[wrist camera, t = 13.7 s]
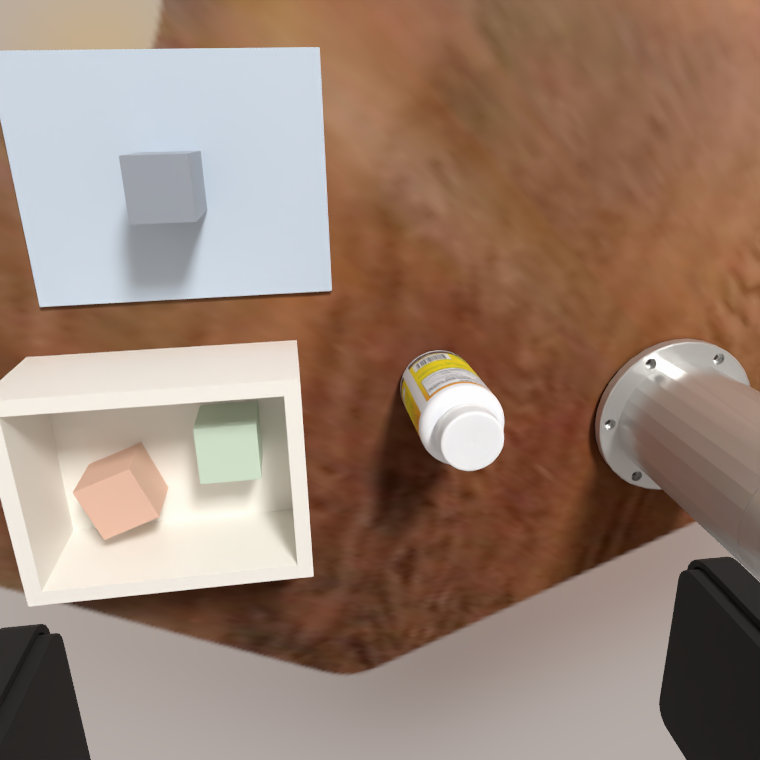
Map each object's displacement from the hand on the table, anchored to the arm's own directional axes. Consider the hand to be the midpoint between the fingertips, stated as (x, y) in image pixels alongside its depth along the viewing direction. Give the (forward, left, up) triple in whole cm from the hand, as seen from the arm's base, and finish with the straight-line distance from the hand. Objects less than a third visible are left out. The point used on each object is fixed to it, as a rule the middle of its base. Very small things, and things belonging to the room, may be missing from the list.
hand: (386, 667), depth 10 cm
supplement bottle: (-9, +10, -38) cm, 40 cm away
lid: (+8, -5, -38) cm, 39 cm away
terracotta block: (+13, +15, -36) cm, 42 cm away
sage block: (+6, +12, -36) cm, 39 cm away
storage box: (+10, +13, -37) cm, 41 cm away
